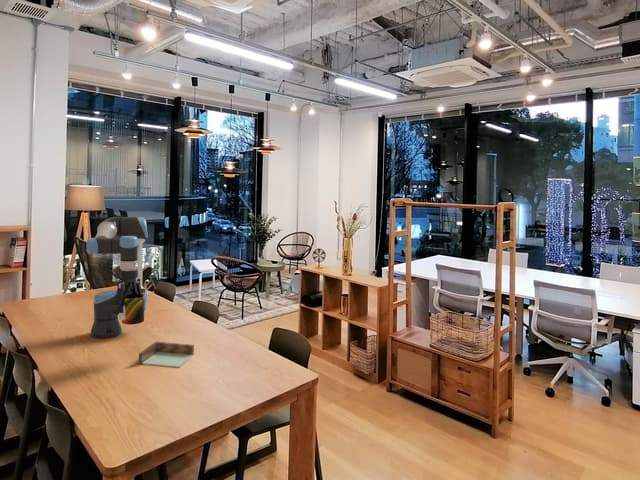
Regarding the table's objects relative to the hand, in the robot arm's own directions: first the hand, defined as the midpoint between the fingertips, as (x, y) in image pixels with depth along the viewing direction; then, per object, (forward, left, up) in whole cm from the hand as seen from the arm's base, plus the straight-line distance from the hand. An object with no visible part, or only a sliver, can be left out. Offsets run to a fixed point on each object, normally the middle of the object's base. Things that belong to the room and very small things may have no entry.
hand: (129, 316), depth 198 cm
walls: (+18, +1, -20) cm, 27 cm away
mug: (0, 0, -2) cm, 2 cm away
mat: (+19, 0, -20) cm, 27 cm away
